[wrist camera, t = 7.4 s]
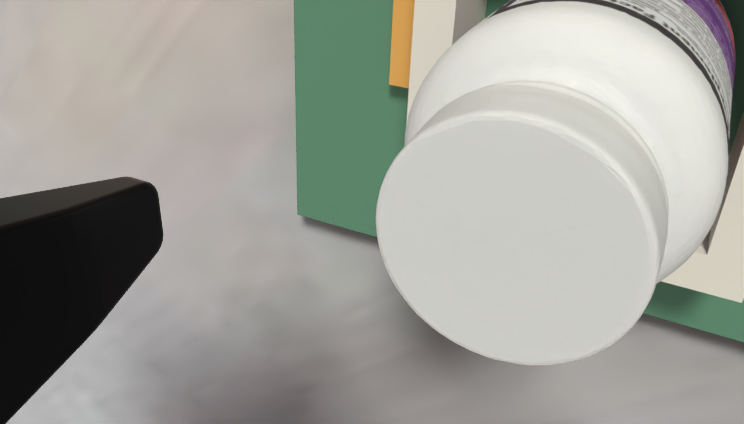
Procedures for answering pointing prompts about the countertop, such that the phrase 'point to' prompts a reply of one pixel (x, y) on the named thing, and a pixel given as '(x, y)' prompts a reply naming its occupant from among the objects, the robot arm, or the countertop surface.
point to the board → (390, 115)
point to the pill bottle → (559, 172)
